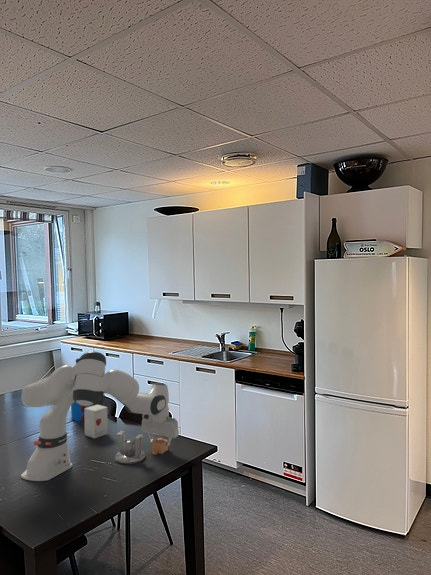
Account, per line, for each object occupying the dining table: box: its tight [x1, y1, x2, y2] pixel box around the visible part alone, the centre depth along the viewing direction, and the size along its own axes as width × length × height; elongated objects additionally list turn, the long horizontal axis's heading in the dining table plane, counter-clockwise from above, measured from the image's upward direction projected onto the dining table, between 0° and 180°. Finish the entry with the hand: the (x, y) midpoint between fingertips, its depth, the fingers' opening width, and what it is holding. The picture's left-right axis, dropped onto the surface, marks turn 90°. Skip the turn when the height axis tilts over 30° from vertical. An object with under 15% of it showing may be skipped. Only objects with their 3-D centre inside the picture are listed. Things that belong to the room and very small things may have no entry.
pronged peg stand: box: [114, 430, 146, 465], centre depth 202 cm, size 14×14×11 cm
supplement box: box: [84, 404, 108, 440], centre depth 232 cm, size 9×9×15 cm
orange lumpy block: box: [151, 437, 169, 456], centre depth 210 cm, size 6×11×6 cm, turn 153°
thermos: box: [70, 401, 91, 422], centre depth 260 cm, size 11×11×25 cm
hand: (160, 443), depth 210 cm, fingers open, 8 cm apart
